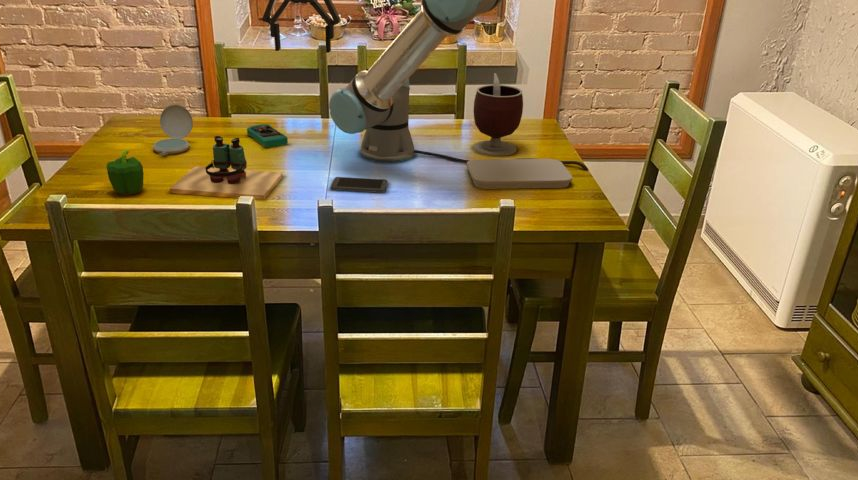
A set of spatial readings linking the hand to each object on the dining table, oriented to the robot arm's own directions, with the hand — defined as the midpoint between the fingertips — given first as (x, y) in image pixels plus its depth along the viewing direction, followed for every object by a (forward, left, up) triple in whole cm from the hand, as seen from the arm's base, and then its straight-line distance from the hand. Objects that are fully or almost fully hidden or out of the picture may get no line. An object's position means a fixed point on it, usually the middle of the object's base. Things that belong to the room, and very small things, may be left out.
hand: (303, 50), depth 194 cm
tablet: (-59, +7, -29) cm, 66 cm away
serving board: (+14, +26, -29) cm, 41 cm away
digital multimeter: (+15, -10, -29) cm, 34 cm away
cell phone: (-19, +21, -28) cm, 40 cm away
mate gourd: (-52, -16, -29) cm, 61 cm away
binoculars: (+14, +26, -28) cm, 41 cm away
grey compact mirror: (+39, +3, -29) cm, 49 cm away
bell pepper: (+36, +35, -29) cm, 58 cm away
